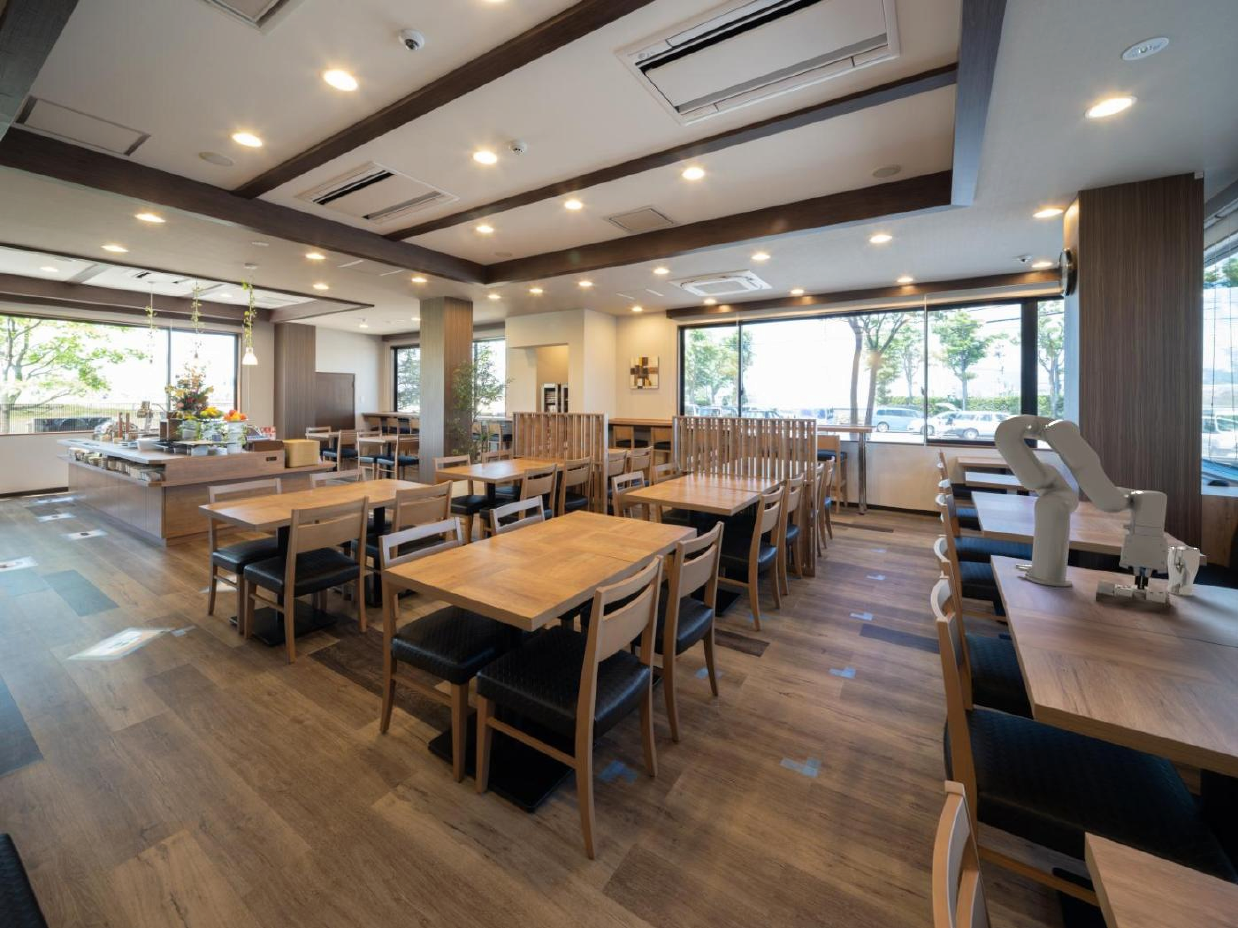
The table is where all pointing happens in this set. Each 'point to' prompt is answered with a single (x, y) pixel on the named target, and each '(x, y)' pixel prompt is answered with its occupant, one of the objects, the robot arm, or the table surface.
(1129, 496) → the robot arm
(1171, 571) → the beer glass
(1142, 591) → the tile one pip
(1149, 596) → the tile two pips
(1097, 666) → the table surface
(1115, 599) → the button board
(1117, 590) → the tile three pips
